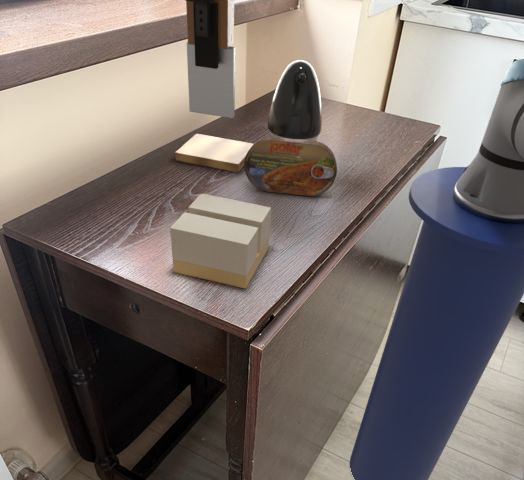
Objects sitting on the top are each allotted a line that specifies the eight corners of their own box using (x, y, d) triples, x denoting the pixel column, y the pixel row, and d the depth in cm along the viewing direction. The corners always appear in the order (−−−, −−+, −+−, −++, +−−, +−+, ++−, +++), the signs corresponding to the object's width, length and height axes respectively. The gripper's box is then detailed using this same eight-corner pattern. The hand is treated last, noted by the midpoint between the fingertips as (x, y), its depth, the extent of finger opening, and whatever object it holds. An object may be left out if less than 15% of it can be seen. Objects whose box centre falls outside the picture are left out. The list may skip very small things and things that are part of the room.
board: (255, 151, 96) (255, 144, 95) (238, 172, 89) (238, 164, 88) (196, 141, 98) (196, 133, 97) (175, 160, 91) (174, 152, 90)
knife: (236, 114, 67) (238, -15, 57) (230, 120, 65) (232, -12, 55) (193, 107, 68) (189, -21, 58) (187, 113, 66) (181, -18, 56)
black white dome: (266, 157, 95) (273, 67, 84) (265, 136, 102) (271, 51, 92) (321, 160, 95) (333, 71, 85) (315, 139, 103) (326, 54, 92)
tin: (242, 188, 85) (244, 138, 79) (245, 180, 87) (247, 130, 81) (332, 199, 84) (340, 149, 78) (333, 191, 86) (341, 141, 80)
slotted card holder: (268, 249, 72) (271, 207, 67) (245, 288, 65) (247, 244, 60) (202, 235, 73) (201, 193, 69) (173, 272, 66) (170, 227, 62)
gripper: (199, -214, 52) (204, 45, 68) (131, -241, 41) (156, 75, 57) (269, -210, 51) (258, 52, 67) (218, -237, 40) (219, 85, 56)
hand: (211, 63), depth 62 cm, fingers closed on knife, 2 cm apart
